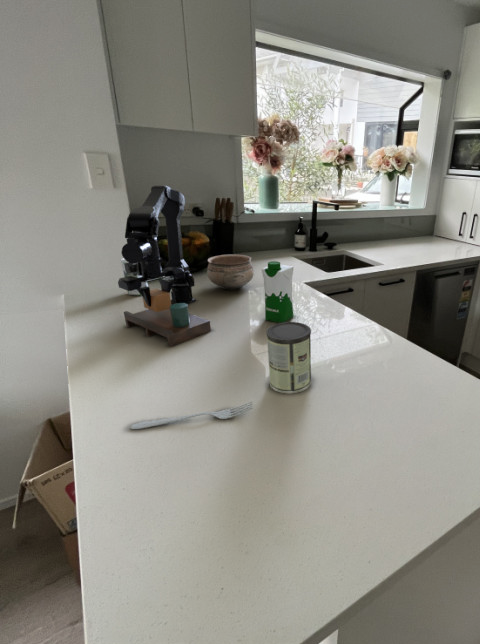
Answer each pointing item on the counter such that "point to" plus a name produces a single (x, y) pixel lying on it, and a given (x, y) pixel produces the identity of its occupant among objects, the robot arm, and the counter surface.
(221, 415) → the fork
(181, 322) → the tea tin
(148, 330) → the shelf
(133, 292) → the syrup box
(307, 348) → the coffee can
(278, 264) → the milk carton
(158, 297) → the kraft box
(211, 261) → the cooking pot
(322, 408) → the counter surface
